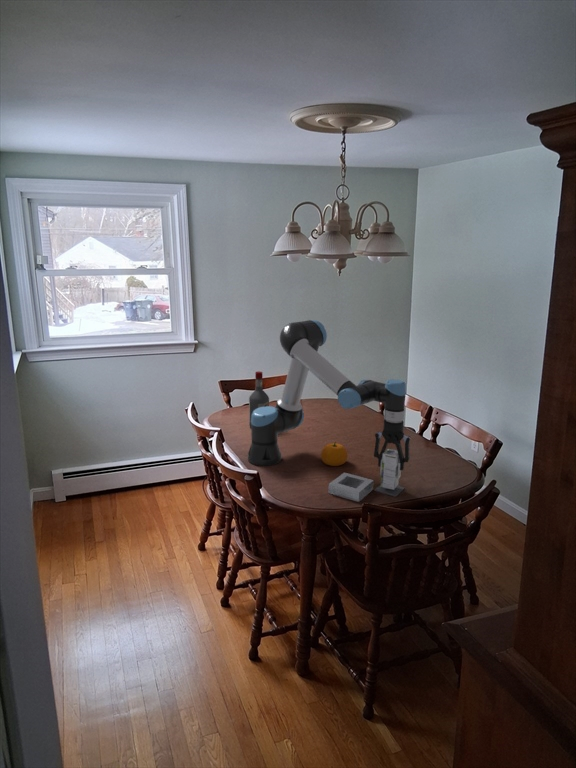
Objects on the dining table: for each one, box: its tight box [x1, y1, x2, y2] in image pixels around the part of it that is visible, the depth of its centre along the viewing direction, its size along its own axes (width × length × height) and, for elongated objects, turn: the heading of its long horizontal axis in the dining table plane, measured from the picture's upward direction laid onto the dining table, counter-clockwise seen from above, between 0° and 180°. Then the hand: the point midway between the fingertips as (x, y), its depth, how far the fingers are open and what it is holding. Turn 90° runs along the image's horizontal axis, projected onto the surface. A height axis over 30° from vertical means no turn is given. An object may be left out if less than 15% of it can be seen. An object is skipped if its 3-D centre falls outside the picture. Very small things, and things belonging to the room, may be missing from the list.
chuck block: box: [328, 472, 375, 503], centre depth 207 cm, size 13×13×4 cm
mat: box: [373, 484, 405, 498], centre depth 209 cm, size 9×9×1 cm
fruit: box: [320, 441, 349, 467], centre depth 233 cm, size 12×12×10 cm
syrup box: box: [380, 448, 400, 490], centre depth 207 cm, size 6×6×14 cm
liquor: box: [248, 370, 270, 429], centre depth 277 cm, size 9×9×30 cm
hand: (390, 475), depth 208 cm, fingers closed on syrup box, 6 cm apart
